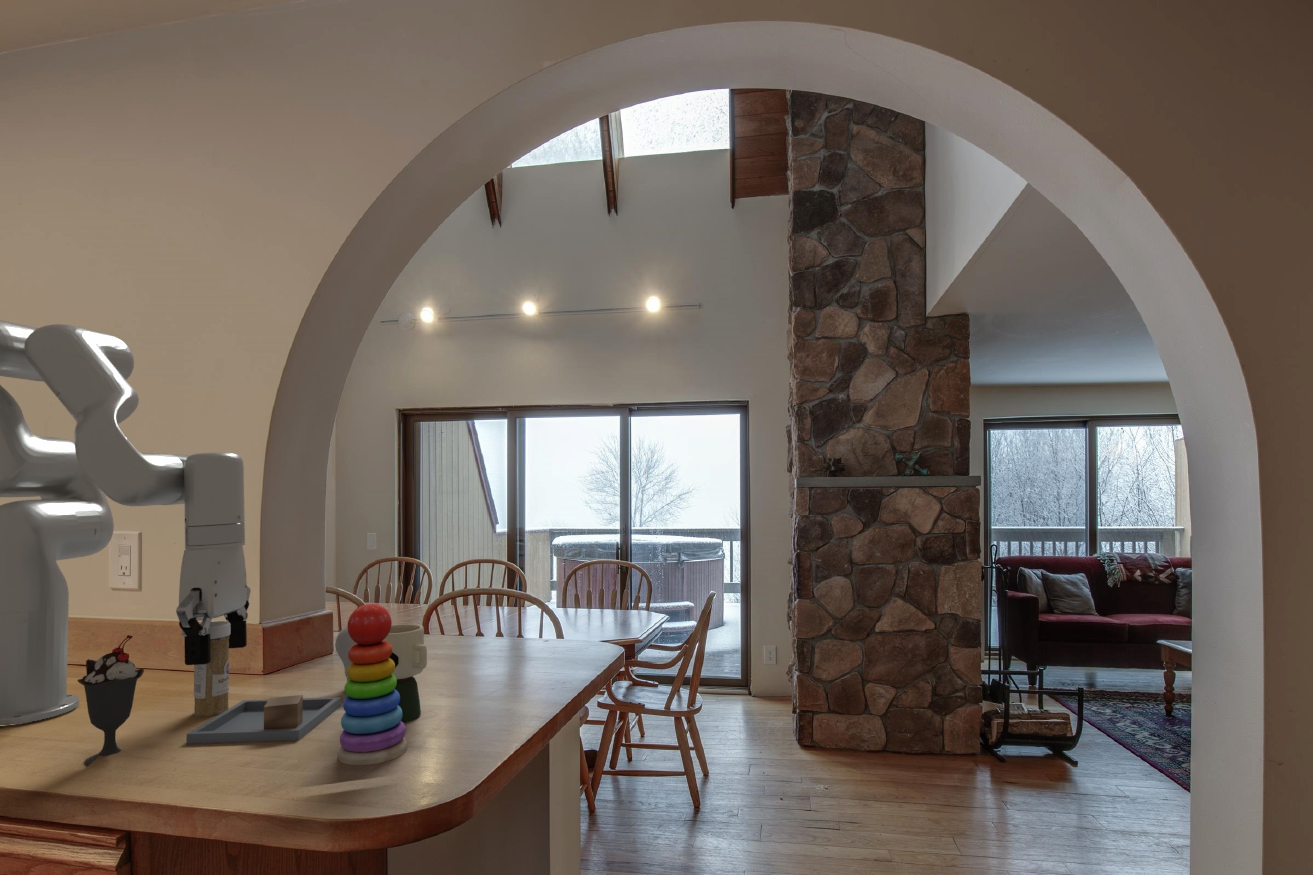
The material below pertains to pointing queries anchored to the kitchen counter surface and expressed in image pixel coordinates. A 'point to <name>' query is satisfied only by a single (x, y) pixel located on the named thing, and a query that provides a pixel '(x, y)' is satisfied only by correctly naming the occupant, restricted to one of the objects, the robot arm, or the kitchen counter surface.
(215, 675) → the sprinkles bottle
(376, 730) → the stacking toy
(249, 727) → the slate tray
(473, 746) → the kitchen counter surface
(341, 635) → the lightbulb
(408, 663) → the character mug
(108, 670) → the sundae
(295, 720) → the walnut block
